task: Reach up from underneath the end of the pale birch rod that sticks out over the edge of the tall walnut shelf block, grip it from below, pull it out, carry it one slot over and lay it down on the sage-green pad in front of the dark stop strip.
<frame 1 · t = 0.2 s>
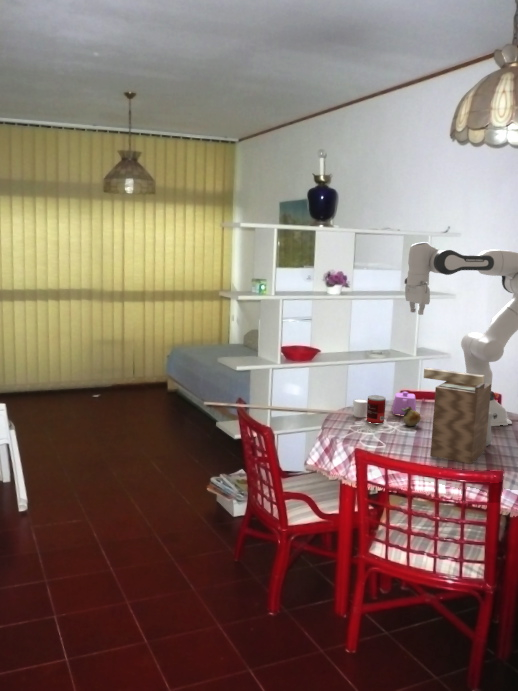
hand: (416, 313, 287), 48 cm above the table, tool pointing down, fingers open, 8 cm apart
walnut shelf: (458, 452, 254), on the table
onion: (410, 426, 289), on the table
canned food: (375, 422, 293), on the table
white cylinder: (359, 416, 303), on the table
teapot: (403, 413, 310), on the table
salt shaker: (483, 444, 266), on the table
birch rod: (453, 381, 257), point 26 cm above the table, touching walnut shelf
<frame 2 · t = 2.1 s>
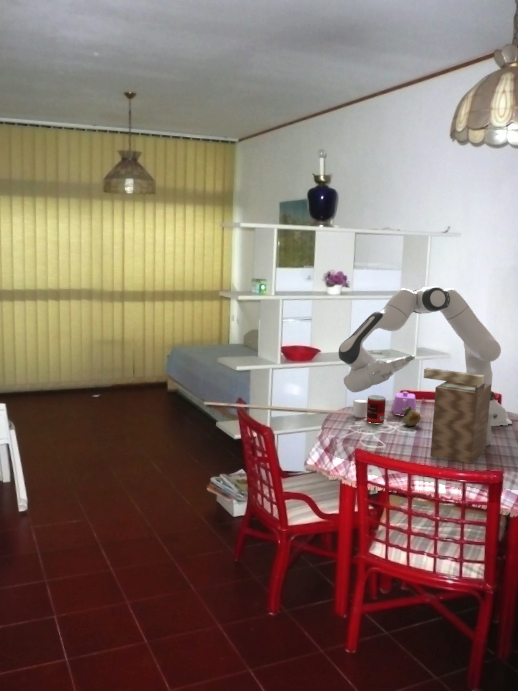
hand: (409, 358, 265), 33 cm above the table, tool pointing upward, fingers open, 8 cm apart
nothing on the table moved.
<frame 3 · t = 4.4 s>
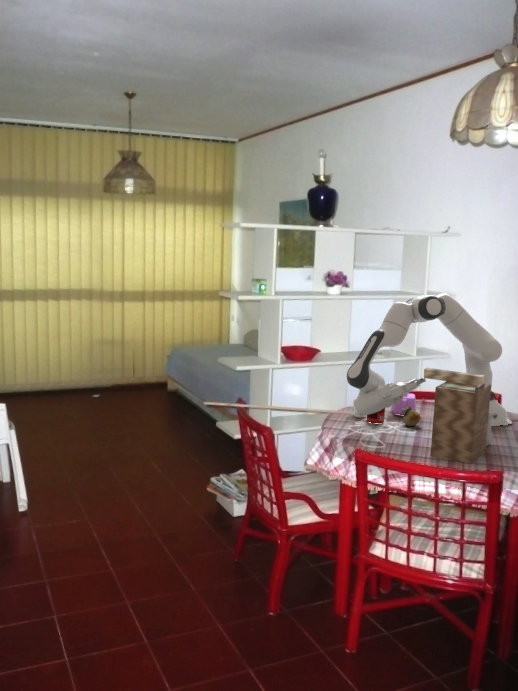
hand: (420, 381, 264), 24 cm above the table, tool pointing upward, fingers open, 8 cm apart
nothing on the table moved.
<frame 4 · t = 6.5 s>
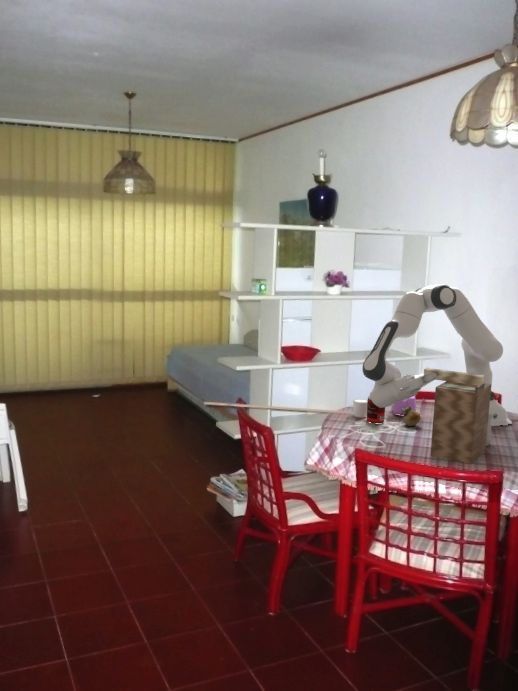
hand: (438, 373, 259), 28 cm above the table, tool pointing upward, fingers closed on birch rod, 3 cm apart
birch rod: (453, 381, 257), point 26 cm above the table, touching gripper, walnut shelf
everything else where it was.
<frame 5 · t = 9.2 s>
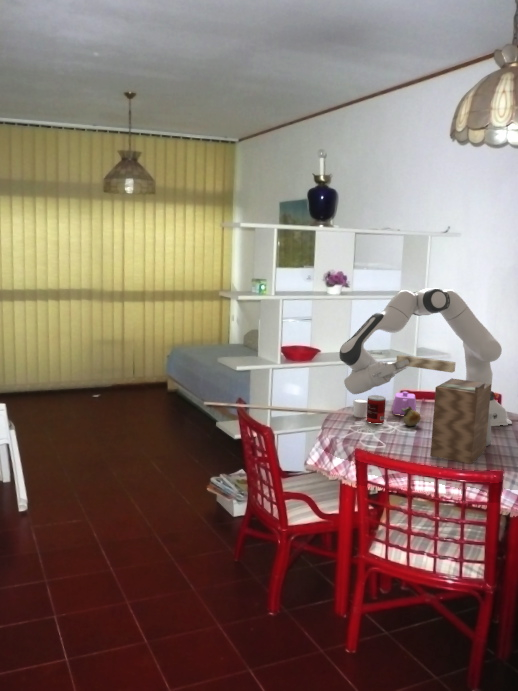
hand: (411, 360, 262), 33 cm above the table, tool pointing upward, fingers closed on birch rod, 3 cm apart
birch rod: (424, 367, 259), point 30 cm above the table, touching gripper
everything else where it was.
when the fingers open (30 cm above the table, at t = 12.2 s): birch rod drops 2 cm, resting on walnut shelf.
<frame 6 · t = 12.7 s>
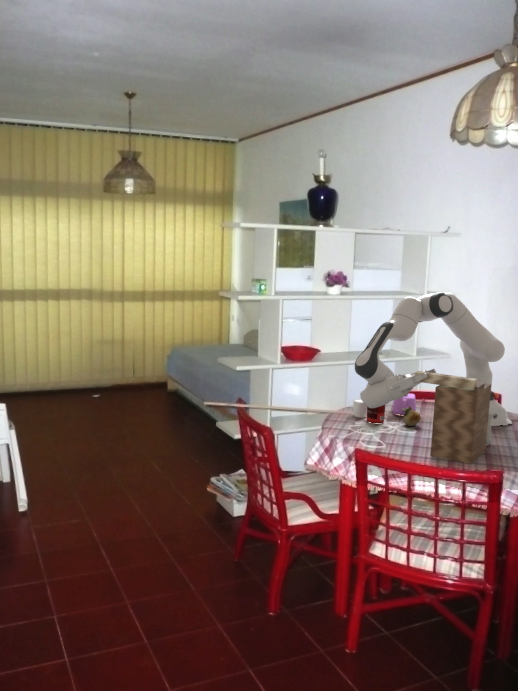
hand: (430, 372, 251), 30 cm above the table, tool pointing upward, fingers open, 8 cm apart
birch rod: (444, 384, 248), point 26 cm above the table, touching walnut shelf
everything else where it was.
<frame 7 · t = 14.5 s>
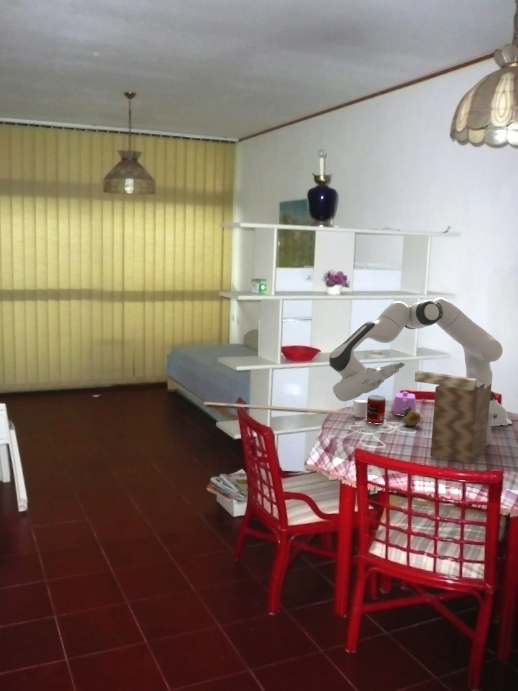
hand: (399, 365, 258), 31 cm above the table, tool pointing upward, fingers open, 8 cm apart
nothing on the table moved.
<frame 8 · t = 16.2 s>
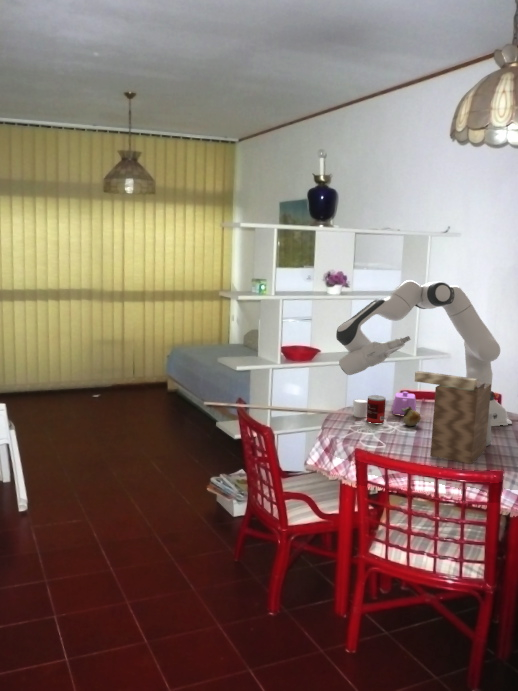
hand: (405, 339, 262), 40 cm above the table, tool pointing upward, fingers open, 8 cm apart
nothing on the table moved.
at the end: birch rod inside the target area on the walnut shelf (0.3 cm from its centre), point 26.3 cm above the walnut shelf's base; the gripper is holding nothing; birch rod touching walnut shelf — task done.
